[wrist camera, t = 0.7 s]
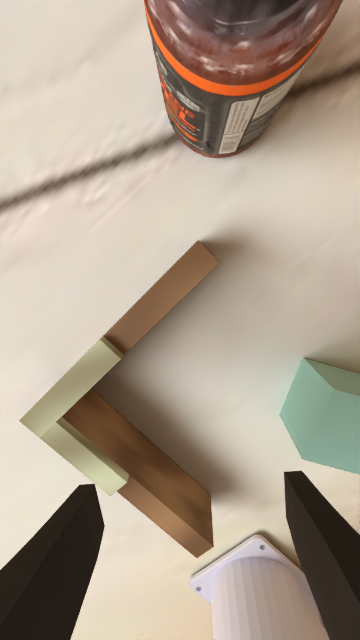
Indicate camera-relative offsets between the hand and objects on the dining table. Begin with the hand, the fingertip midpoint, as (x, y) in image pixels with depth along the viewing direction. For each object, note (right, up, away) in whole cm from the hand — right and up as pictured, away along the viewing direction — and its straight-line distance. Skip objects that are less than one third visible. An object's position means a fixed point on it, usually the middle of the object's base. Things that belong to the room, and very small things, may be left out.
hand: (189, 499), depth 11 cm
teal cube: (+10, +2, +9) cm, 13 cm away
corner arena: (+1, +2, +9) cm, 10 cm away
